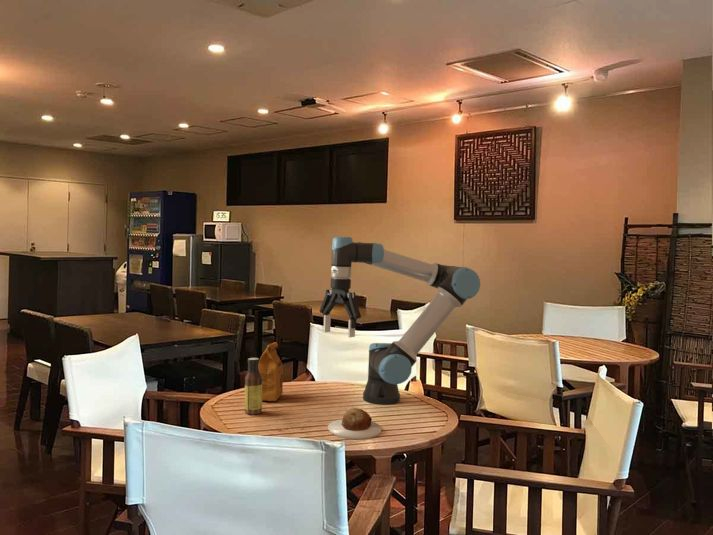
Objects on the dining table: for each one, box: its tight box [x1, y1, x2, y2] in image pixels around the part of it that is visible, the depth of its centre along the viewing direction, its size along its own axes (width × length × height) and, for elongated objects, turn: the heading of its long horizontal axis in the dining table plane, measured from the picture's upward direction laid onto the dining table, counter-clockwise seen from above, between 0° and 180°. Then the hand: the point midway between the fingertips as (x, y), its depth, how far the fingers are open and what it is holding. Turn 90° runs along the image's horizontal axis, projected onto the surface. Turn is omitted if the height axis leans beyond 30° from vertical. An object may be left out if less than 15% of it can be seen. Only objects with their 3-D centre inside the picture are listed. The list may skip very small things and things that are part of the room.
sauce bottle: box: [244, 357, 263, 415], centre depth 218 cm, size 7×6×20 cm
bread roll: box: [341, 407, 373, 431], centre depth 203 cm, size 10×10×8 cm
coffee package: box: [258, 341, 284, 402], centre depth 237 cm, size 10×12×22 cm
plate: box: [327, 418, 382, 440], centre depth 203 cm, size 18×18×1 cm
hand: (338, 334), depth 225 cm, fingers open, 13 cm apart
